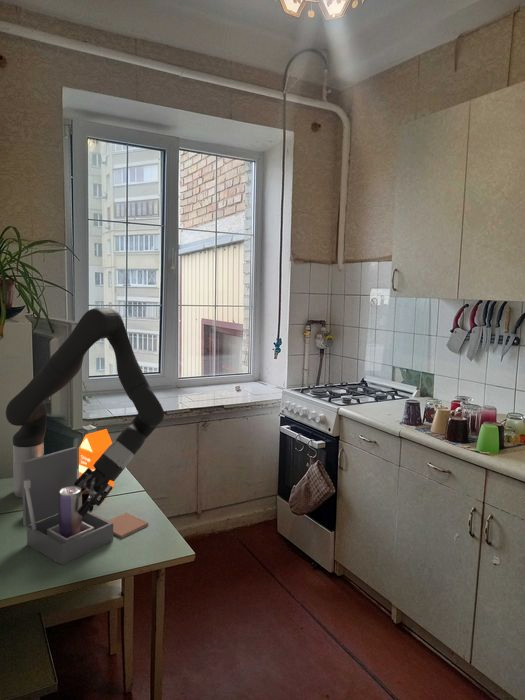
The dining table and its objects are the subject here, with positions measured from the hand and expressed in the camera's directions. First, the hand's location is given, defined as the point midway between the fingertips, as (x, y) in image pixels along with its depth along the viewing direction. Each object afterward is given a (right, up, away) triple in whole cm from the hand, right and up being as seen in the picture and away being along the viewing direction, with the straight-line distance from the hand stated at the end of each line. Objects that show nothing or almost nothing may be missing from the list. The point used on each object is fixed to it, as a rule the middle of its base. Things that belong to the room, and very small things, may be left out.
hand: (74, 508), depth 138 cm
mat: (+11, -9, +11) cm, 17 cm away
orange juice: (-6, -4, +37) cm, 38 cm away
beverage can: (-1, -10, +1) cm, 10 cm away
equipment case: (-1, -9, +1) cm, 10 cm away
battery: (-5, -7, +21) cm, 22 cm away
